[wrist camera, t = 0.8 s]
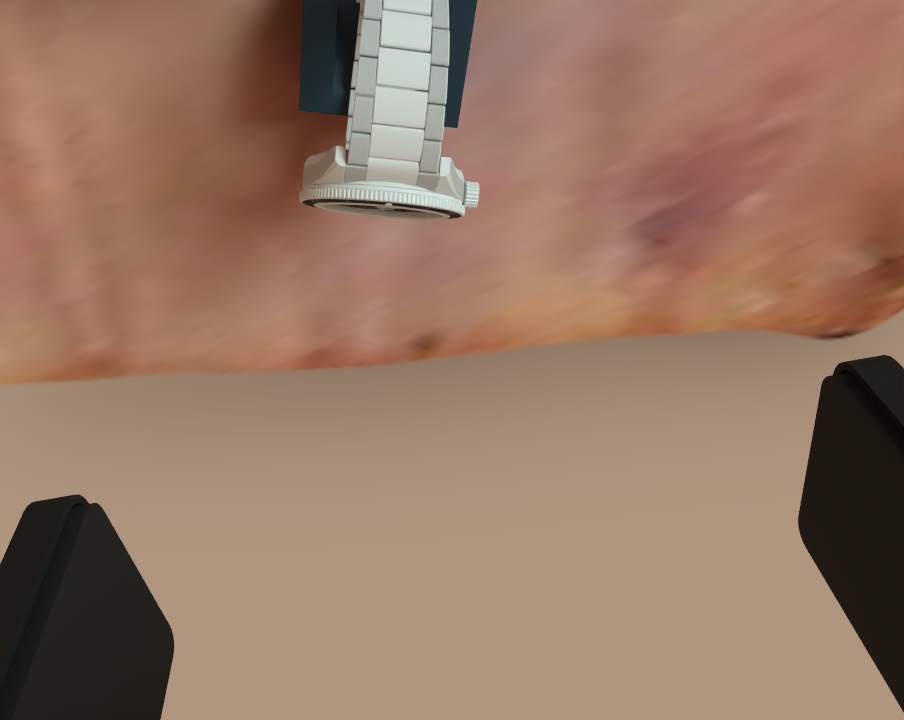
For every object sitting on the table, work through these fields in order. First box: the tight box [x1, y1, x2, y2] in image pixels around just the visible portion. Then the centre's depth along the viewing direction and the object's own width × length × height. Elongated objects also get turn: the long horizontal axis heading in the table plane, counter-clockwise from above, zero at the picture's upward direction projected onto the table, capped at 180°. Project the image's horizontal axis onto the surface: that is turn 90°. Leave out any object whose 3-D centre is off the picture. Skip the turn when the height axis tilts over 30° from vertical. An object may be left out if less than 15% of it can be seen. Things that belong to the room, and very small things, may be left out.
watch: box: [299, 0, 479, 220], centre depth 25 cm, size 6×8×11 cm
